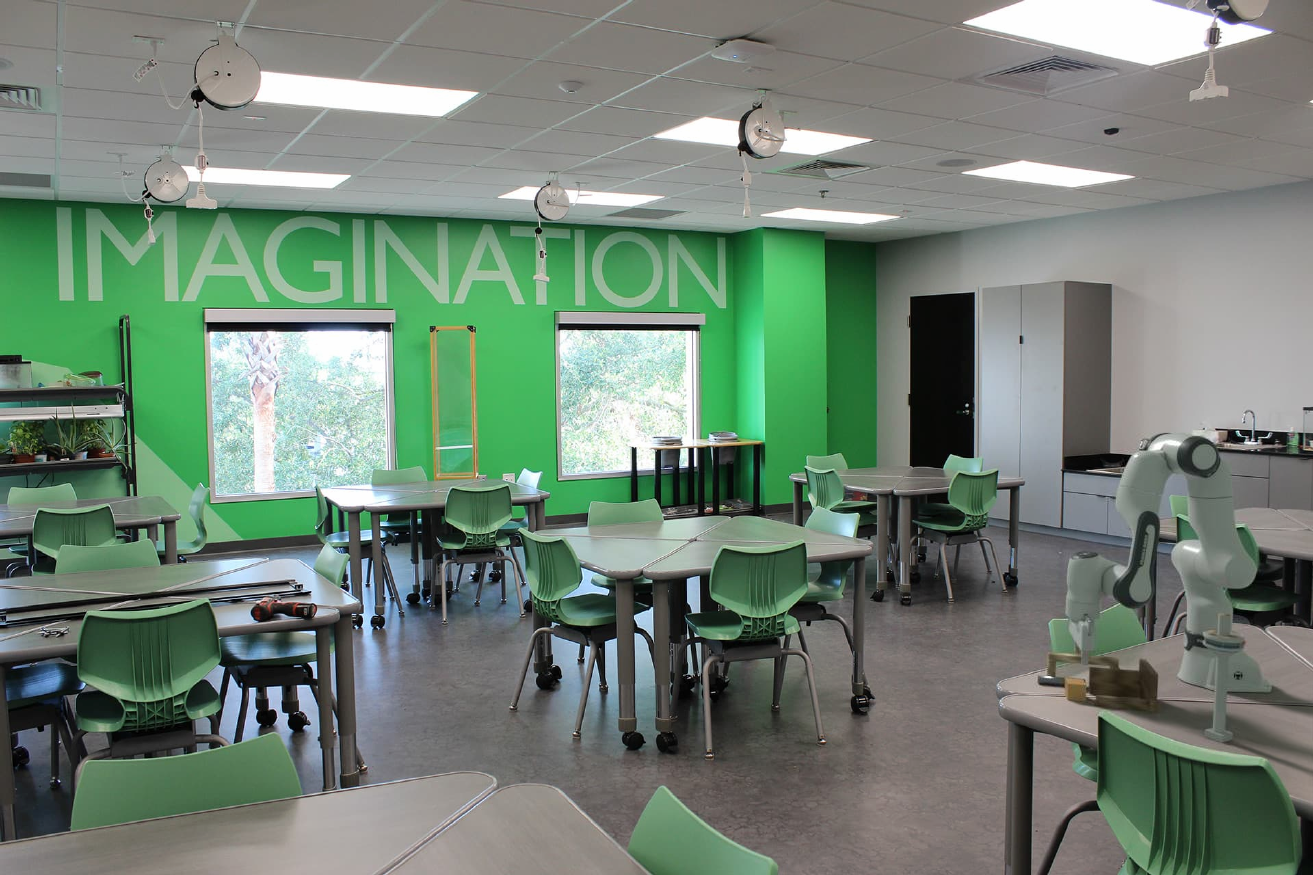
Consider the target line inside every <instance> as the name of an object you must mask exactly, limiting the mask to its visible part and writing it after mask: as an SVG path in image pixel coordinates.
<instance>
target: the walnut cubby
mask: <svg viewBox="0 0 1313 875" xmlns="http://www.w3.org/2000/svg"><path fill="white" fill-rule="evenodd" d="M1138 661H1139V662H1138V665H1139V666H1138V670H1136V669H1135V670H1134V669H1123V668H1120V669H1111V668H1109V667H1108V668H1107V667H1094V666H1089V668H1088V669H1089V670H1088V672H1089V674H1088V693H1089V695H1095V706H1096V707H1099V708H1100V707H1103V708H1113V709H1115V708H1116V709H1125V710H1135V711H1136V710H1138V711H1149V712H1150V713H1155V714H1156V713H1157V709H1158V708H1157V707H1158V693H1159V692H1158V690H1159V689H1158V688H1159V687H1158V686H1159V673H1158V672H1157V671H1156V670H1155V669H1154V668H1153V666H1152V665H1151V663H1150V662H1149V661H1148V660H1147V659H1146V658H1139V660H1138Z"/></svg>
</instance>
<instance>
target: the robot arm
mask: <svg viewBox="0 0 1313 875" xmlns="http://www.w3.org/2000/svg"><path fill="white" fill-rule="evenodd" d="M1173 474H1178V475H1179V474H1183V475H1184V476H1185V479H1186V481H1187V486H1186V487H1187V488H1186V489H1187V521H1188V523H1189V525H1190V526H1191V528H1192V530H1194V532H1195V534H1196V535H1197V537H1198V539H1184V540H1180V541H1179V542H1177V543H1176V544H1175V545H1174V547H1173V549H1172V550H1171V554H1170V558H1171V562H1172V565H1173V566H1174V568H1175V569H1176V570H1177V573H1178V574H1179V576H1180V579H1181V582H1182V585H1183V588H1184V593H1185V596H1186V627H1185V628H1184V633H1183V648H1184V651H1183V657H1182V661H1181V665H1180V668H1179V671H1178V673H1177V678H1179V680H1181V681H1183V682H1185V683H1188V684H1191V685H1194V686H1198V687H1202V688H1205V689H1208V690H1210V691H1214V692H1215V675H1216V655H1215V654H1214V653H1213V652H1212V651H1211V650H1210V649H1208V648H1207V647H1206V646H1205V645H1204V644H1203V640H1205V639H1204V636H1203V632H1204V631H1205V630H1207V629H1218V614H1219V613H1225V614H1230V615H1231V623H1230V631H1233V620H1234V619H1233V618H1234V616H1233V615H1234V607H1233V604H1232V602H1231V601H1230V599H1229V598H1228V597H1227V595H1226V593H1225V590H1224V588H1225V589H1237V590H1238V589H1240V590H1241V589H1244V588H1247V587H1249V586H1250V585H1251V584H1252V583H1253V582H1254V580H1255V578H1256V575H1257V565H1256V562H1255V561H1254V559H1253V558H1252V557H1251V556H1250V555H1249V553H1248V552H1247V550H1246V549H1245V547H1244V545H1243V543H1242V541H1241V538H1240V536H1239V532H1238V530H1237V526H1236V519H1235V505H1234V504H1235V503H1234V486H1233V484H1234V483H1233V478H1232V473H1231V470H1230V466H1229V463H1228V461H1227V460H1226V459H1225V458H1223V457H1221V456H1220V453H1219V449H1218V447H1217V445H1216V444H1215V443H1214V442H1213V441H1211V440H1210V439H1208V438H1206V437H1204V436H1201V435H1193V434H1189V433H1182V432H1181V433H1171V432H1161V433H1158V434H1155V435H1153V436H1152V437H1150V438H1149V440H1147V442H1146V443H1145V445H1144V447H1143V448H1142V449H1141V450H1139V451H1137V452H1134V453H1133V454H1132V455H1131V456H1130V457H1129V459H1128V462H1127V463H1126V465H1125V467H1124V471H1123V472H1122V475H1121V477H1120V479H1119V480H1120V481H1119V484H1118V488H1117V490H1116V495H1115V509H1116V511H1117V513H1118V515H1119V517H1121V518H1122V520H1123V521H1124V522H1125V523H1126V524H1127V526H1128V527H1129V529H1130V532H1131V539H1132V540H1131V545H1130V552H1129V557H1128V564H1127V566H1126V565H1122V564H1120V563H1117V562H1114V561H1111V560H1109V559H1107V558H1106V557H1105V556H1102V555H1101V554H1100V553H1099V552H1098V551H1097V552H1096V551H1092V550H1091V551H1090V550H1088V551H1087V550H1085V551H1084V550H1083V551H1079V552H1075V553H1074V554H1072V555H1071V556H1070V558H1069V560H1068V564H1067V572H1066V586H1067V593H1066V596H1065V615H1066V616H1067V622H1068V623H1067V624H1068V632H1069V634H1070V635H1071V637H1072V639H1073V646H1074V654H1079V655H1081V664H1080V665H1081V666H1082V665H1083V666H1088V665H1089V664H1088V663H1089V656H1090V655H1091V654H1092V653H1095V652H1096V648H1097V631H1096V630H1097V629H1096V625H1095V623H1096V621H1097V620H1100V619H1101V612H1102V611H1101V610H1102V609H1101V607H1102V598H1104V597H1108V598H1109V599H1110V600H1113V601H1116V602H1117V603H1118V604H1120V605H1121V606H1123V607H1125V608H1127V609H1131V610H1133V609H1134V610H1137V609H1141V608H1144V607H1145V606H1146V605H1147V604H1148V603H1150V602H1151V601H1152V598H1153V597H1154V593H1155V578H1154V573H1155V572H1154V570H1155V564H1156V558H1157V552H1158V546H1159V540H1160V534H1161V522H1160V508H1161V504H1162V499H1163V495H1164V492H1165V487H1166V483H1167V481H1168V479H1169V478H1170V477H1171V476H1172V475H1173ZM1246 644H1247V642H1246V640H1244V642H1243V644H1242V645H1243V646H1244V647H1245V645H1246ZM1272 688H1273V687H1272V685H1271V683H1270V681H1268V680H1266V678H1263V671H1262V668H1261V666H1260V664H1259V663H1258V662H1257V661H1256V660H1255V659H1254V658H1253V657H1252V656H1250V655H1249V654H1248V653H1247V652H1245V651H1244V649H1243V650H1241V651H1240V652H1238V653H1236V654H1234V655H1232V656H1230V657H1229V662H1228V682H1227V693H1229V692H1231V693H1233V692H1234V693H1235V692H1236V693H1237V692H1238V693H1271V692H1272V690H1273V689H1272Z"/></svg>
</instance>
